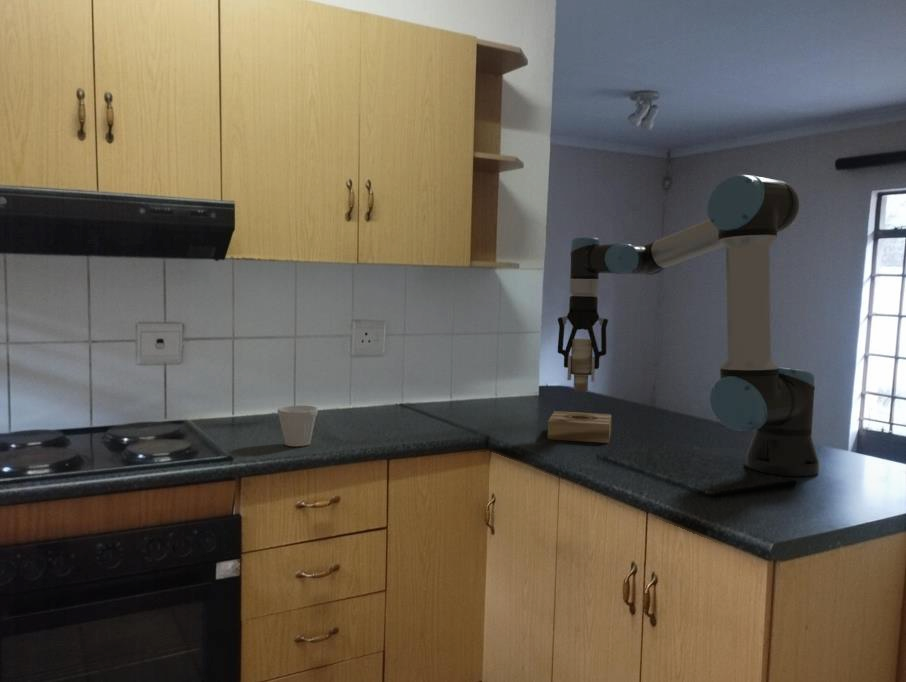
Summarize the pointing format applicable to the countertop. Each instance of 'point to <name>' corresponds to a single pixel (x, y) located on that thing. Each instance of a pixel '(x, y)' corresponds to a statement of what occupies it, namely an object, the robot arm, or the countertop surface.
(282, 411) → the cup
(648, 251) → the robot arm
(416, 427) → the countertop surface
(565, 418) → the block
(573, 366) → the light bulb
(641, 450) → the countertop surface
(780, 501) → the countertop surface
